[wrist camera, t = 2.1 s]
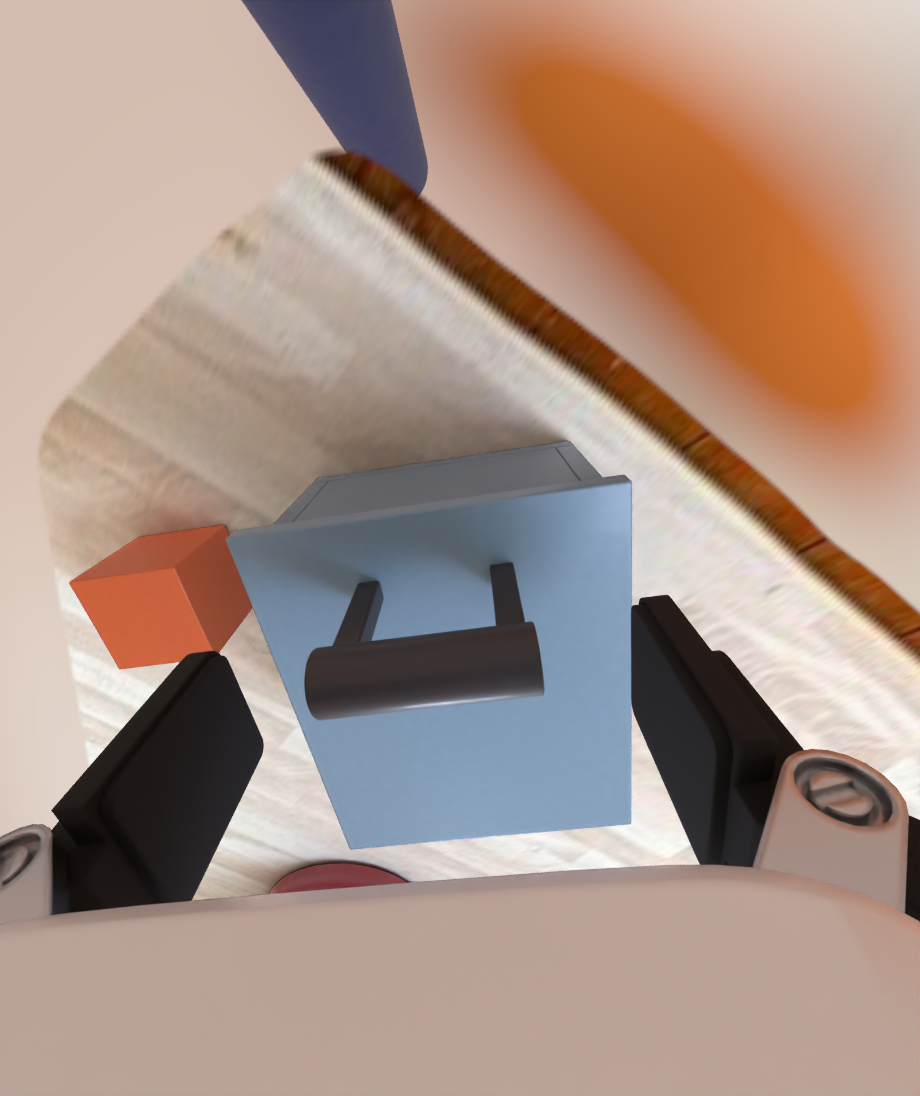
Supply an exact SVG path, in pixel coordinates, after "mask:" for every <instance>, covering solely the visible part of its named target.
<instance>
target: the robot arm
mask: <svg viewBox="0 0 920 1096" xmlns="http://www.w3.org/2000/svg"><path fill="white" fill-rule="evenodd" d="M631 702H632V708H633V712H634V715H635V718H636V720H637V723H638V725H639V727H640V729H641V732H642V734H643V736H644V739H645V741H646V743H647V745H648V748H649V750H650V752H651V755H652V757H653V759H654V761H655V764H656V766H657V768H658V770H659V773H660V775H661V777H662V780H663V782H664V784H665V786H666V789H667V791H668V793H669V796H670V798H671V800H672V802H673V805H674V807H675V809H676V812H677V814H678V816H679V818H680V821H681V823H682V825H683V828H684V830H685V832H686V834H687V837H688V839H689V841H690V844H691V846H692V848H693V850H694V853H695V855H696V857H697V859H698V861H699V863H700V865H659V866H642V867H624V868H606V869H589V870H571V871H558V872H545V873H531V874H518V875H505V876H491V877H478V878H465V879H452V880H438V881H425V882H413V883H400V884H388V885H375V886H363V887H351V888H338V889H326V890H314V891H302V892H290V893H278V894H265V895H254V896H243V897H231V898H220V899H208V900H197V901H192V899H193V897H194V895H195V893H196V891H197V889H198V886H199V884H200V882H201V880H202V878H203V876H204V874H205V872H206V870H207V868H208V866H209V864H210V862H211V860H212V858H213V855H214V853H215V851H216V849H217V847H218V845H219V843H220V841H221V839H222V837H223V835H224V833H225V831H226V829H227V827H228V824H229V822H230V820H231V818H232V816H233V814H234V812H235V810H236V808H237V806H238V804H239V802H240V800H241V798H242V796H243V794H244V791H245V789H246V787H247V785H248V783H249V781H250V779H251V777H252V775H253V773H254V771H255V769H256V767H257V765H258V763H259V760H260V758H261V756H262V754H263V747H264V744H263V739H262V736H261V734H260V732H259V730H258V727H257V725H256V723H255V721H254V718H253V716H252V714H251V711H250V709H249V707H248V705H247V702H246V700H245V698H244V696H243V693H242V691H241V689H240V687H239V684H238V682H237V680H236V677H235V675H234V673H233V671H232V668H231V666H230V664H229V662H228V660H227V658H226V657H225V656H221V655H220V654H219V653H218V652H217V651H205V652H197V653H190V654H188V655H186V656H185V657H184V658H183V659H182V661H181V662H180V663H179V664H178V665H177V666H176V668H175V669H174V670H173V671H172V672H171V673H170V674H169V676H168V677H167V678H166V679H165V680H164V681H163V683H162V684H161V685H160V686H159V687H158V688H157V689H156V691H155V692H154V693H153V694H152V695H151V696H150V697H149V699H148V700H147V701H146V702H145V703H144V704H143V706H142V707H141V708H140V709H139V710H138V711H137V712H136V714H135V715H134V716H133V717H132V718H131V719H130V720H129V722H128V723H127V724H126V725H125V726H124V727H123V729H122V730H121V731H120V732H119V733H118V734H117V735H116V737H115V738H114V739H113V740H112V741H111V742H110V743H109V745H108V746H107V747H106V748H105V749H104V750H103V752H102V753H101V754H100V755H99V756H98V757H97V758H96V760H95V761H94V762H93V763H92V764H91V765H90V766H89V768H88V769H87V770H86V771H85V772H84V773H83V775H82V776H81V777H80V778H79V779H78V780H77V781H76V783H75V784H74V785H73V786H72V787H71V788H70V790H69V791H68V792H67V793H66V794H65V795H64V796H63V798H62V799H61V800H60V801H59V802H58V803H57V804H56V806H55V807H54V808H53V809H52V810H51V811H52V812H53V813H54V815H55V816H56V817H57V819H58V820H59V822H58V823H57V825H56V826H55V827H54V828H53V829H52V830H51V829H50V828H49V827H46V826H45V825H43V824H39V825H38V824H34V825H33V824H32V825H29V826H25V827H21V828H19V829H16V830H14V831H12V832H9V833H8V834H5V835H3V836H1V837H0V1096H920V820H918V819H916V818H914V817H912V816H909V815H908V810H907V805H906V802H905V800H904V799H903V797H902V796H901V794H900V792H899V791H898V789H897V788H896V787H895V786H894V785H893V784H892V783H891V782H890V781H889V780H888V779H887V778H886V777H885V776H883V775H882V774H881V773H879V772H878V771H876V770H875V769H873V768H872V767H870V766H869V765H867V764H866V763H863V762H861V761H859V760H857V759H854V758H852V757H850V756H848V755H844V754H840V753H837V752H833V751H829V750H817V749H810V750H803V748H802V747H801V746H800V745H799V743H798V742H797V741H796V740H795V738H794V737H793V736H792V735H791V733H790V732H789V731H788V730H787V729H786V727H785V726H784V725H783V724H782V722H781V721H780V720H779V719H778V717H777V716H776V715H775V714H774V712H773V711H772V710H771V709H770V707H769V706H768V705H767V704H766V703H765V701H764V700H763V699H762V698H761V696H760V695H759V694H758V693H757V691H756V690H755V689H754V688H753V686H752V685H751V684H750V683H749V681H748V680H747V679H746V678H745V677H744V675H743V674H742V673H741V672H740V670H739V669H738V668H737V667H736V665H735V664H734V663H733V662H732V660H731V659H730V658H729V657H728V656H727V655H726V654H725V653H724V652H722V651H719V650H718V651H711V649H710V648H709V647H708V645H707V644H706V643H705V642H704V640H703V639H702V638H701V636H700V635H699V634H698V632H697V631H696V630H695V629H694V627H693V626H692V625H691V623H690V622H689V621H688V619H687V618H686V617H685V616H684V614H683V613H682V612H681V610H680V609H679V608H678V606H677V605H676V604H675V603H674V601H673V600H672V599H671V597H670V596H668V595H661V596H653V597H645V598H641V599H640V600H639V605H634V606H632V607H631Z"/></svg>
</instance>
